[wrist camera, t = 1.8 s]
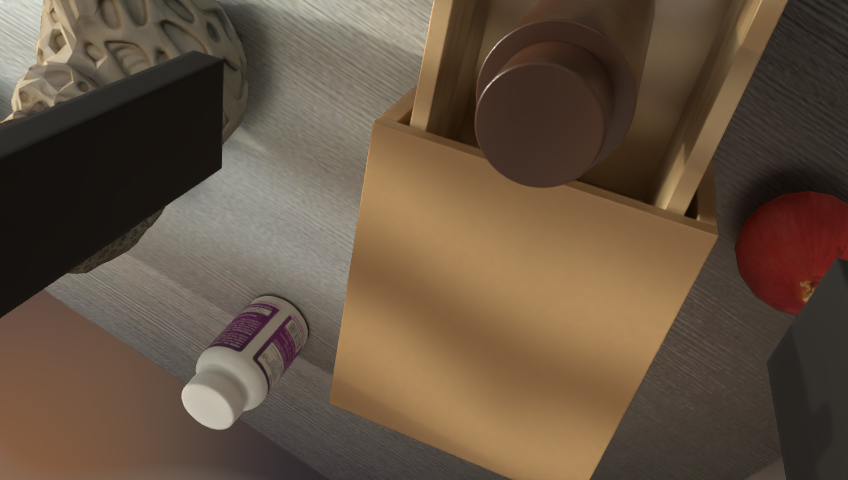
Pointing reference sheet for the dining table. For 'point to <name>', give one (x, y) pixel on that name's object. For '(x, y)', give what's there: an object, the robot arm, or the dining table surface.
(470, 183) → the cabinet
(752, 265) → the red pomegranate
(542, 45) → the pepper mill
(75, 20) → the teapot
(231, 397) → the pill bottle
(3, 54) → the dining table surface
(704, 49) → the drawer
